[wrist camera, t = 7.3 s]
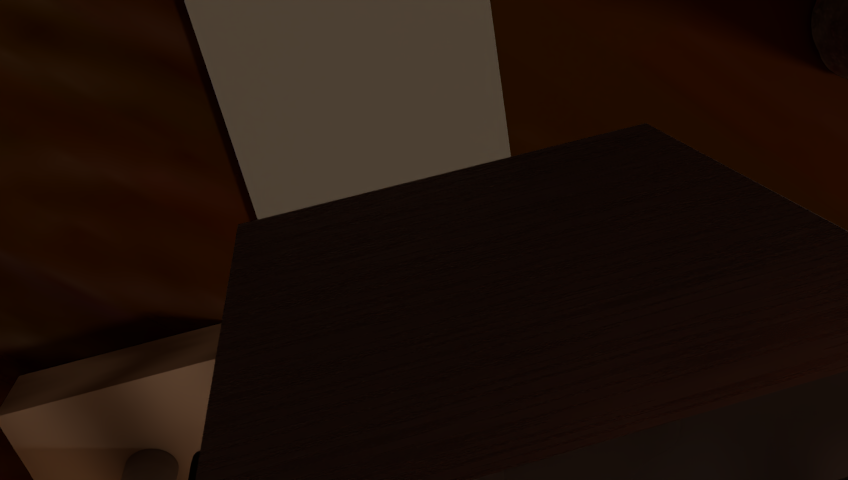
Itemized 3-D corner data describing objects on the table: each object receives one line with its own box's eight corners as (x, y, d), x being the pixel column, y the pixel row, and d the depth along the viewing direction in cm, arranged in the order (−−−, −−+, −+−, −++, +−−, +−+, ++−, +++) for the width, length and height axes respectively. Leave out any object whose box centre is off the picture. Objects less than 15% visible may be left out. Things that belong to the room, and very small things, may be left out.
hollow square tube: (645, 123, 11) (1015, 321, 5) (656, 429, 13) (897, 756, 8) (237, 224, 10) (180, 564, 5) (342, 521, 13) (381, 936, 8)
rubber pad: (476, -78, 27) (479, -78, 26) (513, 191, 32) (516, 194, 32) (180, -15, 26) (179, -14, 25) (270, 253, 31) (270, 256, 31)
